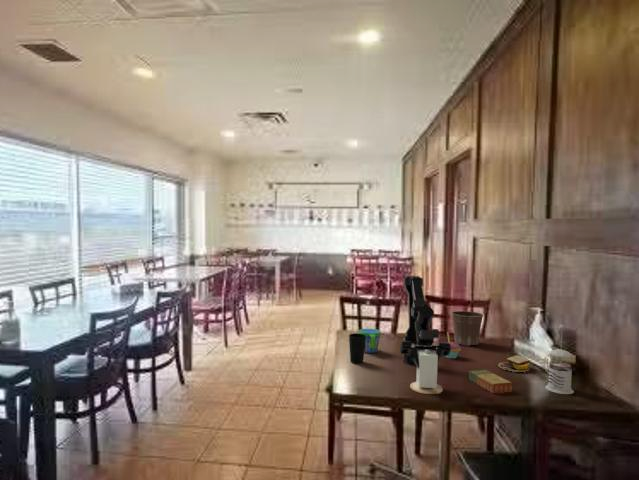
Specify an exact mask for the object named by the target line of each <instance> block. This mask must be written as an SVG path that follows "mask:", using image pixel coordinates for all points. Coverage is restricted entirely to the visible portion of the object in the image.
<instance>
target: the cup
mask: <svg viewBox="0 0 639 480" xmlns="http://www.w3.org/2000/svg"><path fill="white" fill-rule="evenodd" d="M348 341H349V358H350V363H352V364H353V365H354V364H355V365H362V364H363V363H364V358H365V352H364V350H365V342H366V335H364V334H359V333H350V334H349V335H348Z"/></svg>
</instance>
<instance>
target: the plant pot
mask: <svg viewBox="0 0 639 480" xmlns="http://www.w3.org/2000/svg"><path fill="white" fill-rule="evenodd" d="M451 316H452V321H453V332H454V335H453V336H454V343H457V344H458V345H461V346H467V347H471V346H470V345H476V346H479V343H480V336H481V335H480V334H481V326H482V323H483V317H484V314H483V313H480V312H476V311H470V310H469V311H468V310H458V311H457V310H455V311H452V312H451Z"/></svg>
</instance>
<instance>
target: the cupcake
mask: <svg viewBox="0 0 639 480" xmlns="http://www.w3.org/2000/svg"><path fill="white" fill-rule="evenodd" d="M446 336H447V341H446V342H447V343H450V345H451V351H450V353H449V355H448V356H445V357H446V358H448V359H456V358H457V356H458V354H459V352H461V350H462V345H461V344H457V343H455V341H450V333H449V332H448V331H447V333H446ZM460 345H461V346H460Z"/></svg>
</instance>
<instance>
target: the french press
mask: <svg viewBox="0 0 639 480" xmlns="http://www.w3.org/2000/svg"><path fill="white" fill-rule="evenodd" d="M558 327H559V328H560V329H565V327H566V326H565V325H564V324H560V325H559V326H558ZM560 332H561V337H560V349H558V348H557V349H552V350H550V351H549V352H548V353H549V354H547V355H545V357H544V359H543V361H546V362H548V361H549V358H550V359H552V360H553V359H554V357H556V358H557V357H558V358H560V359H559V361H557V360H556V361H550V363H549V365H548V363H546V365H545V364H543V366H544V367H543V368H544V369H545V372H547V374H548V381H547V385H545V387H544V388H545V389H546V390H547V391H549V392H552V393H556V394H560V395H561V394H562V395H571V394H574V393H575V391H574V390H573V389H572V375H573V374H572V373H573V372H572V371H573V369H572V368H571V367H572V365H571V364H569V363H566V362H562V359H570V358H573V357H574V356H573V353H570V352H569V351H567V350H564V349H562V343H563V341H562V340H563V330H561V331H560ZM551 356H552V357H551ZM546 366H547V369H548V370H547V369H546Z"/></svg>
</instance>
